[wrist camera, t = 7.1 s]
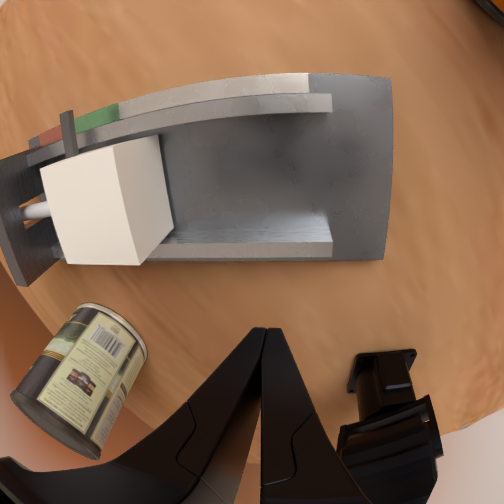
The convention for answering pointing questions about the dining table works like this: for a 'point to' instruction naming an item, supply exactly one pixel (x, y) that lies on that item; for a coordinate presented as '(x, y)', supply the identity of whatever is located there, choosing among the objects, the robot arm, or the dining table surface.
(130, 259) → the white cube with rod
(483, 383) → the dining table surface
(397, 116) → the dining table surface
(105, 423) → the coffee can
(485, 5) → the canister
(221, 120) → the gauge track
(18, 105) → the dining table surface
